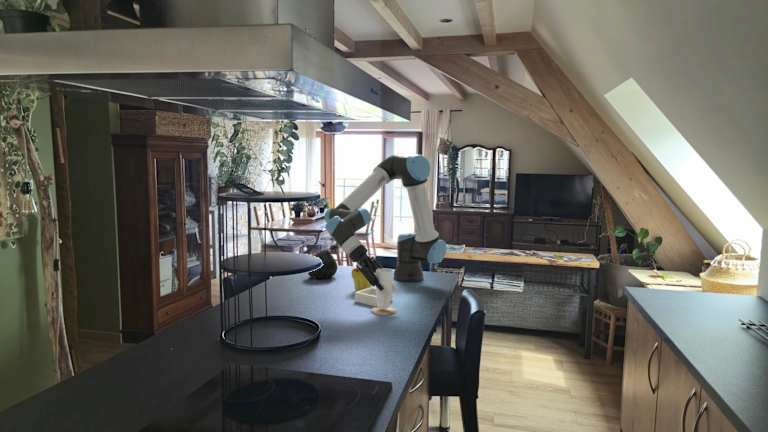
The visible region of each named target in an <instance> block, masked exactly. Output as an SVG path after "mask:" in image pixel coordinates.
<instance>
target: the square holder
mask: <svg viewBox="0 0 768 432" xmlns="http://www.w3.org/2000/svg"><path fill="white" fill-rule="evenodd" d="M392 301H393V293H392V292H391V300H390V302H392ZM354 302H355V303H358V304H359V303H361V304H363V305H368V306H371V307H372V306H373V307H377V296H376V287H375V286H374V287H373V286H371V287H370V288H367V289H364V290H361V291H355V292H354Z"/></svg>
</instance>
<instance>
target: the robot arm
mask: <svg viewBox="0 0 768 432" xmlns="http://www.w3.org/2000/svg"><path fill="white" fill-rule="evenodd" d="M430 172H431V165H430V162H429V160H428V159H427V158H426V156H424V155H423V154H416V153H403V154H402V153H401V154H400V153H395V154H392V155H390V156H388V157H386V158H385V159H384V160H382V161H380V163H379V164H377V165H376V166H375V167H374V168H373V171H372V173H371V174H370V175H368V177H367V178H366V179H365V180H363V182H362V183H359V185H358V186H357V187H356V188H355V189H354V190H353V191H352V192H351V193H350V194H349V195H348V196H347V197H345V198H344V199H343V200H342V201H341V202H340V203H339V204H338V205H337V206H336V207H331V208H328V209H326V211H325V213H324V221H325V223H326V224H325V226H324V229H325V230H326V231H327V233H328V235H330V237H331V238H333V240H334V241H335V242H336V244H337V245H338V246H339V247H340V248H341V249H342V252H344V253H345V254H346V255H348V258H349V259H350V260H351V261H352V263H357V264H356V265H355V268H358V269H359V270H360V271H361V273H362V274H363V275H364V277H365V278H366V279H367V281H368V282H369V283H370V284H371V287H374V288H376V287H377V288H378V289H379V290H380V292H381V293H382V294H383V295H384V296H385V298H387V297H388V296H389V295H391V292H392V294H394V293H396V291H398V290H399V288H398V287H397V286H396V285H395V283H394V282H393V281H392V290H391V292H390V291H389V290H388V289H387V288H386V286H385V285H384V284H383V283H382V282H381V281H380V282H379V280H378V278H377V277H376V275H375V273H376V269H382V268H384V267H383V266H382V265H381V264H380V263H379V262H378V260H376V258H375V257H374V256H373V255H372V256H369V255H368V254H367V253H368V252H369V250H368V249H367V248H366V246H365V245H364V244H362V241H361V240H360V239H359V238H358V237H357V235H355V233H356V232H358V231H360V230H361V229H363V228H365V227H366V226H367V225H368V224H369V223H370V222H371V220H372V216H371V213H370V212H369V210H368V209H367V208H366V207H363V205H365V204H366V202H368V201H370V199H371V198H372V197H373V196H374V195H375V194H376V193H377V192H378V191H379V190H381V188H382V187H383V186H384V185H388V184H390V182H391V181H394V180H401V183H402V187H403V188H405V189H406V190H407V196H408V200H409V205H410V208H411V212H412V213H411V214H412V217H413V222H414V227H415V229H416V230H415V231H416V232H408V233H407V232H406V233H400V234H399V235H398V236H397V242H396V245H397V246H396V247H397V250H396V252H397V253H396V255H397V256H396V257H397V259H396V260H397V263H396V265H395V269H394V272H393V279H394V280H395V281H399V282H405V283H406V282H408V283H412V282H420V281H423V280H424V272H423V268H422V265H421V262H425V263H428V264H438V263H441V261H443V260H444V258H445V256H446V254H447V243H446V241H445V240H443V239H440V234H439V232H438V231H437V230H436V229H435V226H434V225H435V224H434V221H433V216H432V211H431V208H430V202H429V198H428V192H427V189H426V184H427V182H428V178H429V176H430V174H431V173H430Z"/></svg>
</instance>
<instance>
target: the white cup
mask: <svg viewBox="0 0 768 432" xmlns="http://www.w3.org/2000/svg"><path fill="white" fill-rule="evenodd" d="M375 275H376V277H377V278H378V280H379V282H380V281H381V282H382V283H383V284H384V285H385V286H386V288H387V289H388V290H389V291H390V292H391V290H392V282H393V270H392V269H391V268H385V267H383V268H382V269H376V273H375ZM375 288H376V296H377V306H376V307H378V308H381V309H387V308H389V307H391V301H390V300H391V295H389V296H388V297H387V298H385V296H384V295H383V294H382V293H381V292H380V290H379V289H378V288H377V287H376V286H375Z"/></svg>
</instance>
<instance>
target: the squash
mask: <svg viewBox="0 0 768 432" xmlns="http://www.w3.org/2000/svg"><path fill="white" fill-rule="evenodd" d="M313 256H316V257H319V258H320V259H321V260H322V262H323V264H324V265H323V266H322V267H321V268H319V269H317V270H315V271H312V272H309V273H307V274H308V276H309V277H311V278H313V279H319V278H320V279H332V278H333V277H334V276H335V274H337V270H338V263H337V261H336V259H335V257H334V256H333V255H332V253H331V252H330V251H329V250H328V249H325V250H322V251H319V252H318V253H315V254H313Z"/></svg>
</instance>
